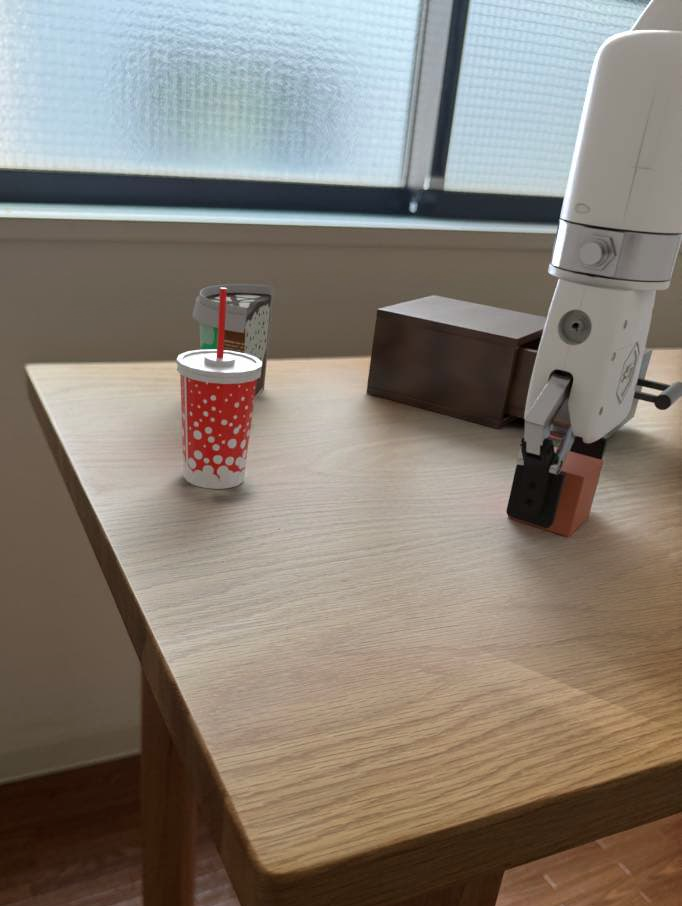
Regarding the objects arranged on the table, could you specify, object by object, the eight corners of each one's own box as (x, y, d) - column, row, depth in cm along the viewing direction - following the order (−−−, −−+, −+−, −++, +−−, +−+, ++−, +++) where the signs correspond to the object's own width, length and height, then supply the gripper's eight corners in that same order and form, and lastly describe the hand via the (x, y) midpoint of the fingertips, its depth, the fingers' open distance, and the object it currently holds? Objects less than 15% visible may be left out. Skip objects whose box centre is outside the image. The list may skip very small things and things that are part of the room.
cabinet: (544, 402, 90) (563, 320, 86) (498, 429, 80) (517, 338, 77) (421, 371, 97) (433, 295, 93) (365, 393, 88) (377, 308, 84)
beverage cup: (269, 485, 64) (284, 295, 58) (196, 498, 61) (204, 298, 54) (229, 457, 68) (239, 278, 62) (159, 468, 65) (163, 280, 59)
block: (588, 517, 63) (604, 460, 61) (568, 537, 60) (584, 477, 58) (529, 499, 66) (542, 443, 64) (507, 517, 62) (520, 458, 60)
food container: (209, 377, 88) (214, 278, 84) (267, 385, 87) (274, 285, 83) (172, 411, 77) (175, 300, 73) (238, 421, 76) (245, 308, 72)
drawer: (679, 428, 82) (700, 359, 79) (649, 457, 74) (672, 381, 71) (505, 385, 91) (519, 322, 88) (461, 407, 83) (474, 338, 80)
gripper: (636, 278, 46) (563, 558, 54) (702, 255, 59) (635, 484, 67) (506, 257, 50) (454, 522, 57) (594, 240, 63) (543, 457, 70)
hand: (552, 501), depth 62 cm, fingers open, 9 cm apart
